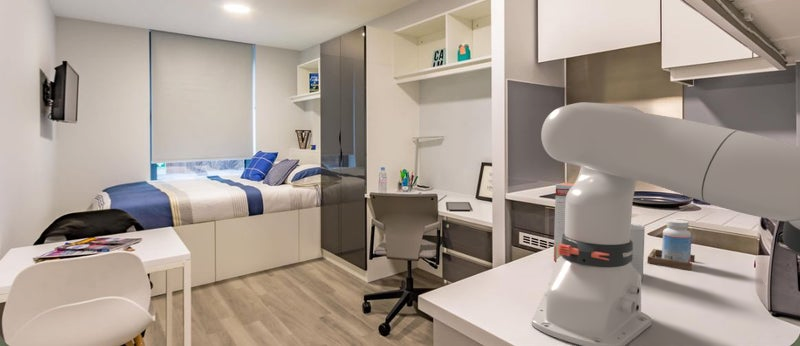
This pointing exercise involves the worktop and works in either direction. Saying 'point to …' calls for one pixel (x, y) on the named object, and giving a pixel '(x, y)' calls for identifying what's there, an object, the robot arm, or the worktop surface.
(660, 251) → the stop
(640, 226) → the skincare box
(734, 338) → the worktop surface
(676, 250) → the pill bottle
